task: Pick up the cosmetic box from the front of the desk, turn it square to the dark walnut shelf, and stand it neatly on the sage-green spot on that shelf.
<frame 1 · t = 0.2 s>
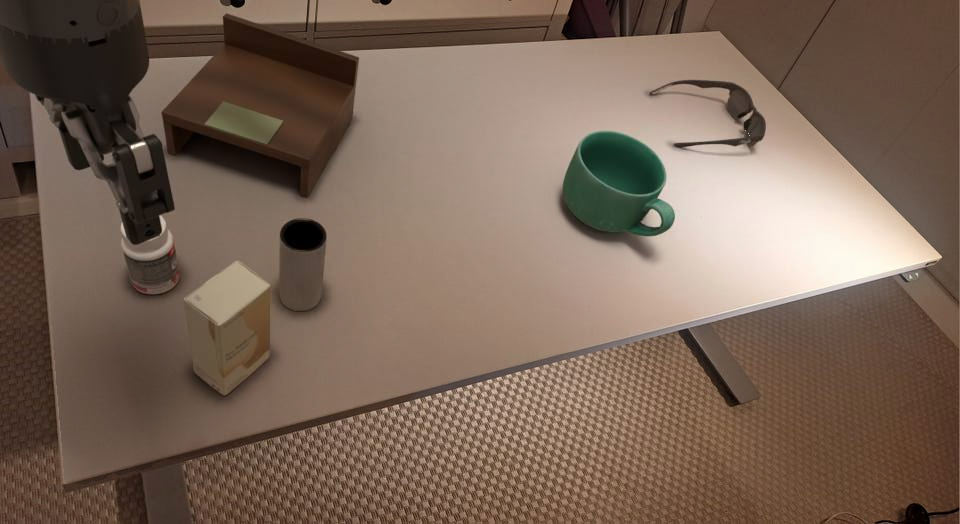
hand: (116, 199, 48), 22 cm above the table, tool pointing down, fingers open, 8 cm apart
shelf: (268, 133, 88), on the table
sunglasses: (701, 124, 115), on the table
pill bottle: (156, 278, 70), on the table
grey cylindrical cup: (300, 296, 73), on the table
cosmetic box: (234, 364, 66), on the table
mug: (604, 220, 93), on the table
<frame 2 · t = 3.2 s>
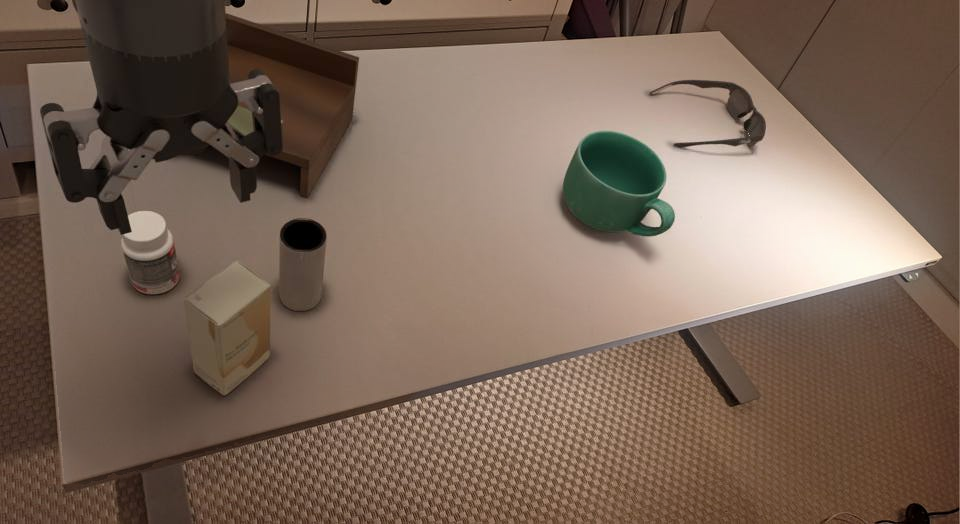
hand: (184, 209, 49), 22 cm above the table, tool pointing down, fingers open, 8 cm apart
nothing on the table moved.
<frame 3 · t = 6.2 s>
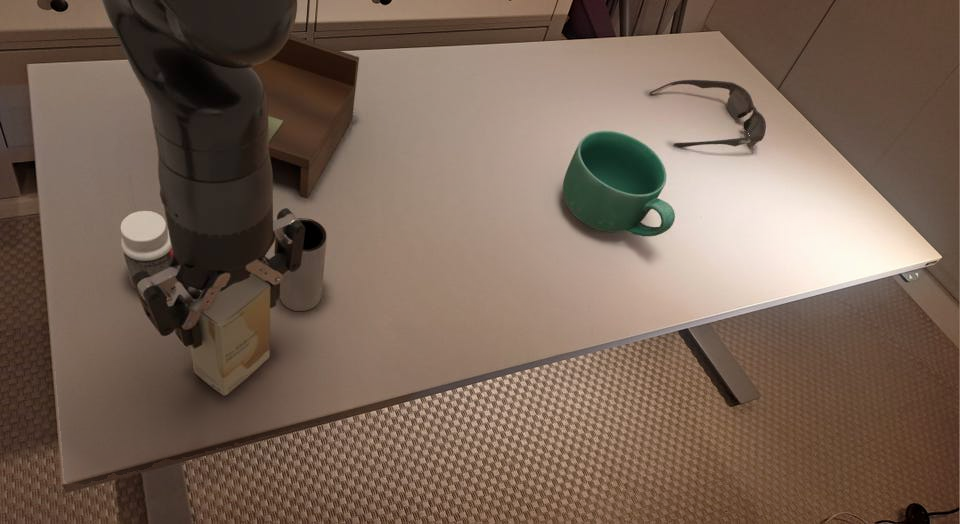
hand: (230, 319, 60), 8 cm above the table, tool pointing down, fingers closed on cosmetic box, 7 cm apart
cosmetic box: (234, 364, 66), on the table, touching gripper
everything else where it was.
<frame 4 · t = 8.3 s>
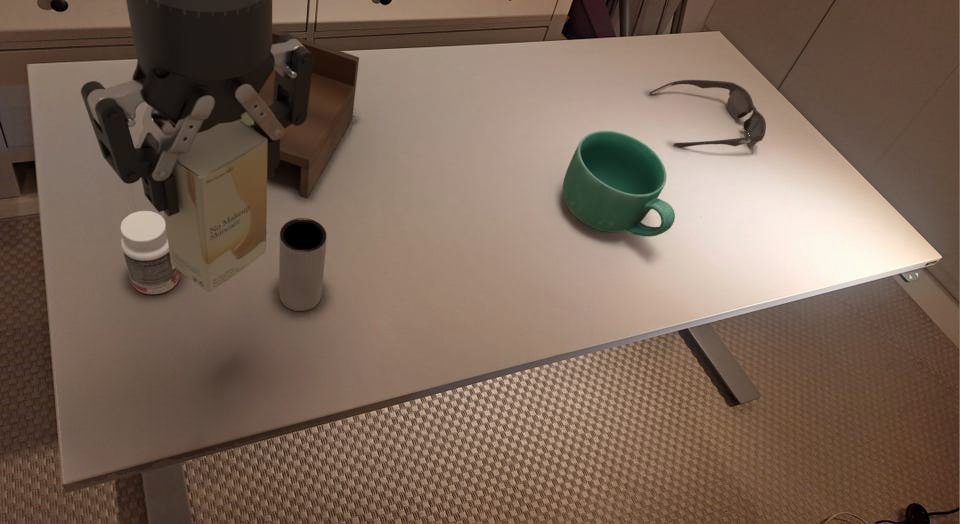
hand: (217, 187, 47), 25 cm above the table, tool pointing down, fingers closed on cosmetic box, 7 cm apart
cosmetic box: (221, 259, 53), point 17 cm above the table, touching gripper
everything else where it was.
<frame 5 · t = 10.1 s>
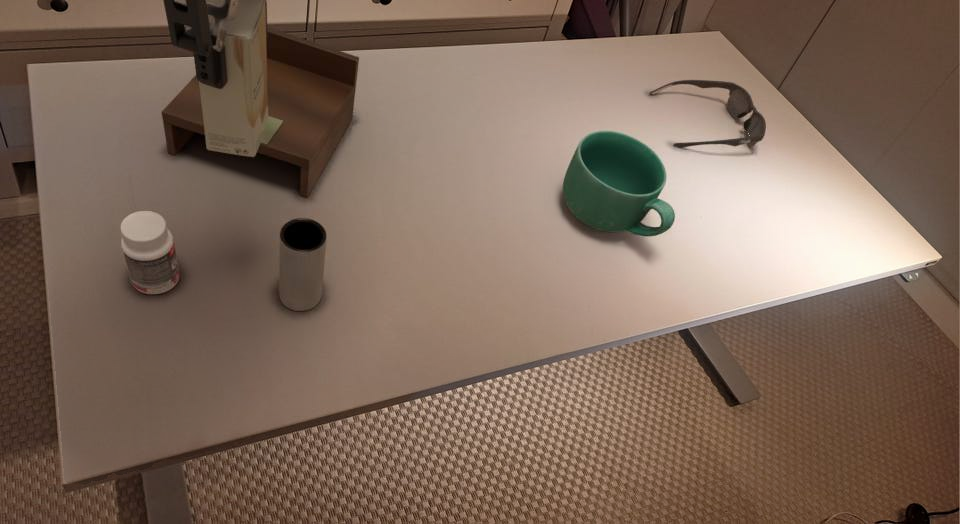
hand: (234, 59, 55), 26 cm above the table, tool pointing down, fingers closed on cosmetic box, 7 cm apart
cosmetic box: (238, 134, 61), point 18 cm above the table, touching gripper
everything else where it was.
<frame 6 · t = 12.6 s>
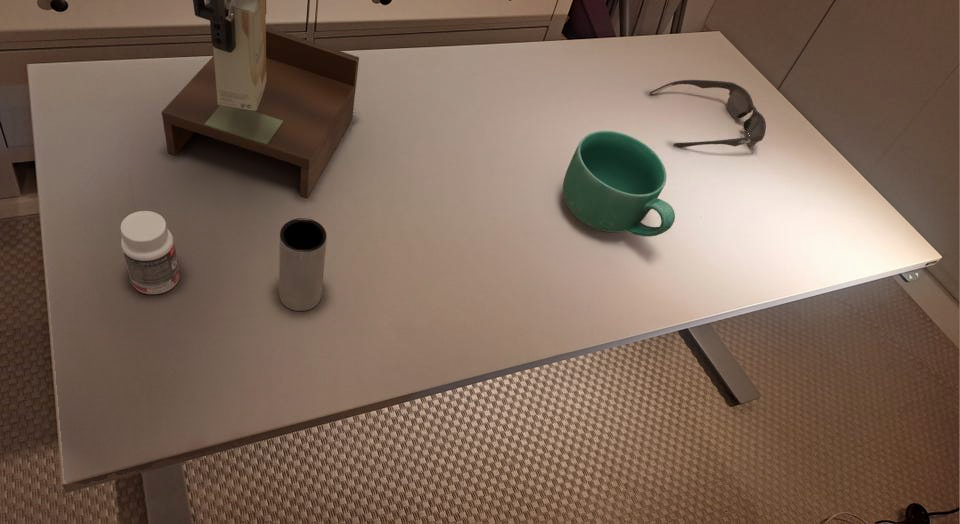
hand: (240, 30, 69), 19 cm above the table, tool pointing down, fingers closed on cosmetic box, 7 cm apart
cosmetic box: (243, 93, 75), point 11 cm above the table, touching gripper
everything else where it was.
when the fingers open (15 cm above the table, at t = 14.4 s): cosmetic box stays where it is, resting on shelf.
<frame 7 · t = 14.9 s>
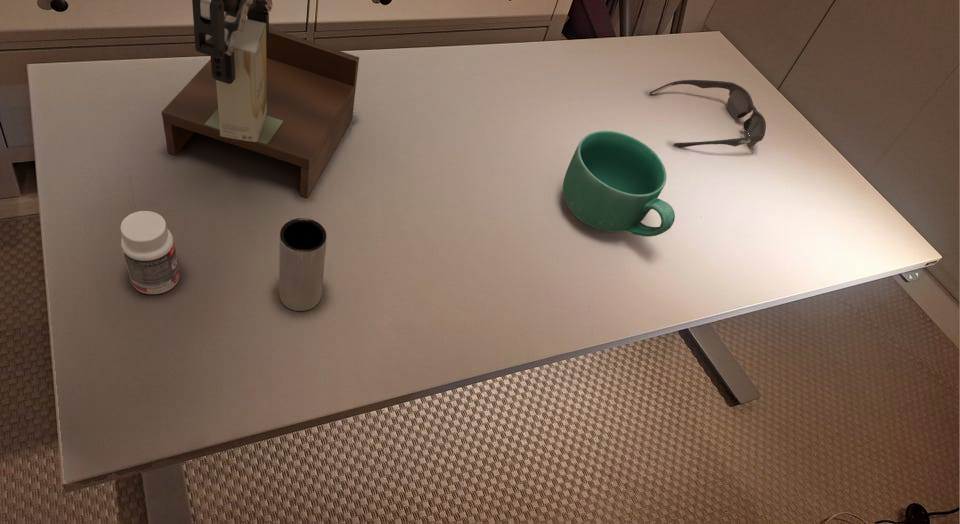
hand: (242, 59, 72), 16 cm above the table, tool pointing down, fingers open, 8 cm apart
cosmetic box: (244, 124, 79), point 7 cm above the table, touching shelf
everything else where it was.
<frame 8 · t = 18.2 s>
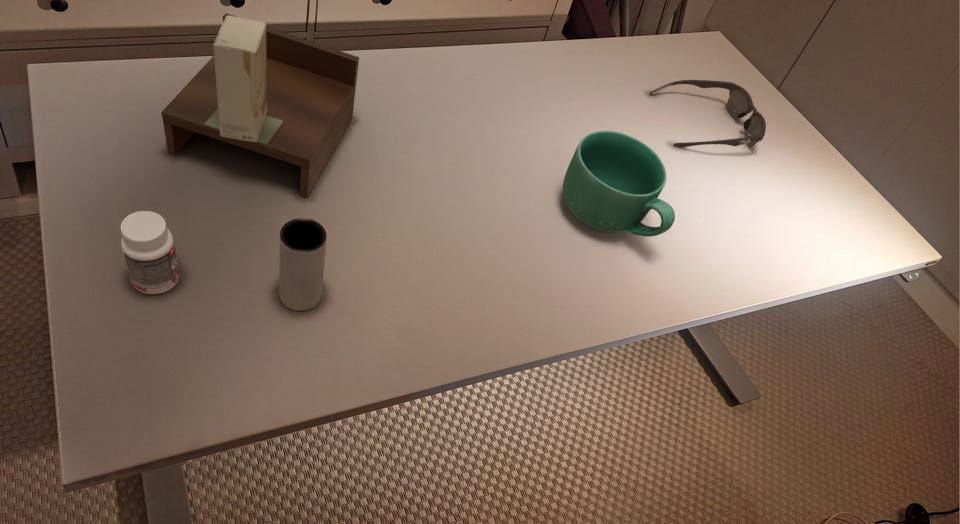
nothing on the table moved.
at the end: cosmetic box 0.3 cm from the target spot on the shelf, point 6.5 cm above the shelf's base; cosmetic box tilted 0°; the gripper is holding nothing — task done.
